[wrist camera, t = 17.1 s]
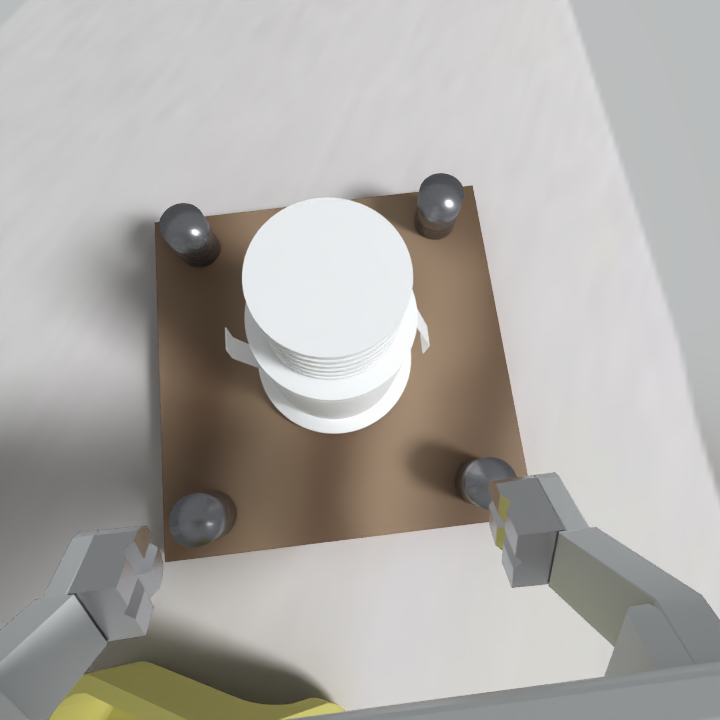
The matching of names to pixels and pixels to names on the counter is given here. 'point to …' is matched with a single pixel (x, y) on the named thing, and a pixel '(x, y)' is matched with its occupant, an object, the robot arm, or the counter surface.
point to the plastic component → (168, 699)
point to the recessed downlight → (329, 314)
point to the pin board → (324, 450)
